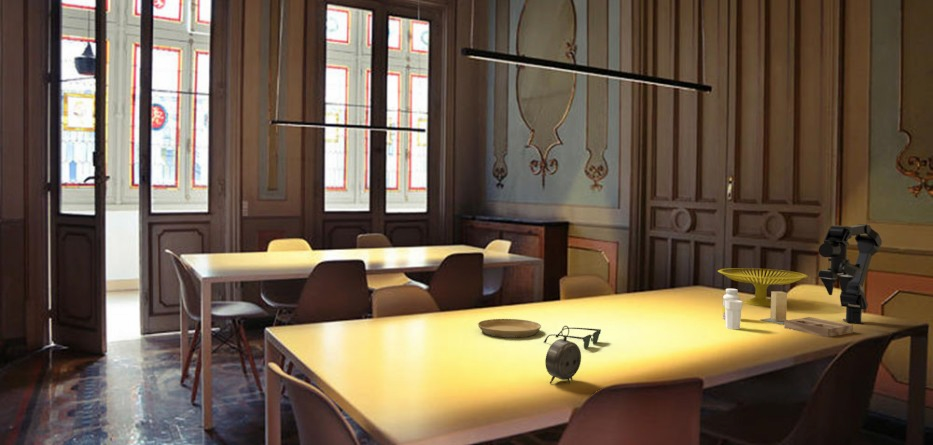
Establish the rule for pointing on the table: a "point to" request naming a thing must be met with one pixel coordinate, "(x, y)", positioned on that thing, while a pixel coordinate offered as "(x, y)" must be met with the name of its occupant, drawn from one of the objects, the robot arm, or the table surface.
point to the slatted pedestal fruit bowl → (761, 282)
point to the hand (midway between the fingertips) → (837, 294)
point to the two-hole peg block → (819, 326)
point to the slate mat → (772, 321)
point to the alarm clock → (563, 359)
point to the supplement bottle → (729, 297)
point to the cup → (733, 313)
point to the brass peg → (778, 306)
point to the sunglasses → (585, 339)
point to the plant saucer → (509, 327)
